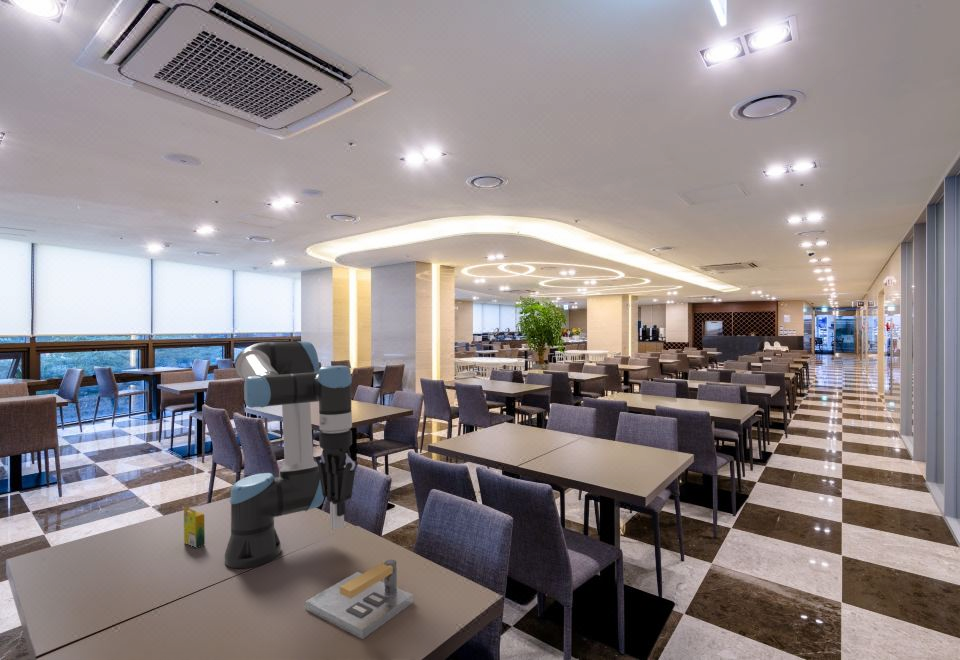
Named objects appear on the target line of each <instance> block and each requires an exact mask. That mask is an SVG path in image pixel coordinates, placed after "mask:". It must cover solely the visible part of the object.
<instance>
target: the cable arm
mask: <svg viewBox="0 0 960 660" xmlns="http://www.w3.org/2000/svg"><path fill="white" fill-rule="evenodd" d="M395 570H397V560H396V559H388V560H386V561H384V562H380V563H379V564H377V565H376V566H374V567H371V568H370V569H368V570H366V571H364V572H363V573H362V574H361V575H359V576H358V577H356V578H354V579H353V580H351V581H349V582H347V583H346V584H344V585H342V586H340V594H342V595H344V596H346V597H348V598H350V599H351V598H353V597H354V596H356V595H358V594H359V593H361V592H362V591H364V590H366V589H367V588H369V587H371V586H372V585H374V584H375V583H377V582H379V581H381V580H383V579H384V578H385V577H387V576H388V575H390V574H392V573H393V571H395Z"/></svg>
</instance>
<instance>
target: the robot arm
mask: <svg viewBox="0 0 960 660" xmlns="http://www.w3.org/2000/svg"><path fill="white" fill-rule="evenodd" d="M319 363H320V362H319V356H318V353H317V349H316V347H315V346H314V344H313V343H312V342H310V341H299V340H297V341H296V340H295V341H294V340H293V341H291V340H290V341H270V342H269V341H265V342H258V343H254V344H252V345H249V346H248V347H245V348H243V350H241V351H240V352H239V353H238V354H237V356H236V358H235V360H234V370H235V372H236V373H237V375H238V376H239V377H240V379H242V380H244V384H243V394H244V395H243V396H244V403H245V405H246V407H248V408H266V407H275V406H281V409H282V410H281V411H282V414H281V415H282V430H283V431H282V436H283V437H282V438H283V455H284V456H283V457H284V459H283V460H284V464H283V466H282V467H281V468H280V469H279V476H276V477H275V475H273V473H271V472H264V473H262V472H260V473H255V474H253V475H249V476H246V477H243V478H241V479H239V480H238V481H237V482H235V483H234V484H233V485H232V486H231V488H230V499H229V504H230V537H229V540H228V541H227V542H228V543H227V546H226V549H225V552H224V565H226V566H227V567H228V568H232V569H248V568H254V567H257V566H261V565H264V564H266V563H269V562H270V561H273V560H274V559H276V558H277V557H278V556H279V555H280V553H281V551H282V550H281V549H282V548H281V547H282V545H281V544H282V543H281V541H280V538H279V536H278V532H277V530H276V527H275V518H278V517H281V516H282V517H283V516H285V515H291V514H294V513H295V514H297V513H301V512H304V511H305V512H308V511H310V510H313V509H316V508H319V507H320V506H321V505H322V503H323V502H324V499H325V498H326V499H327V501H328V509H329V510H328V512H329V526H330V530H331V531H337V530H340V529H343V528H344V527H345V514H346V504H345V503H346V501H349V500H350V499H352V495H353V487H354V480H355V474H356V469H357V467H358V465H359V462H358V460H353V459H352V458H351V453H350V447H351V446H352V444H353V431H352V430H351V428H352V427H353V415H352V414H353V412H352V382H353V381H352V380H353V379H352V372H351V368H350V367H349V366H348V365H326V366H321V367H320V364H319ZM316 402H318V412H319V415H318V416H319V418H318V419H319V427H318V429H319V430H320V432H319V433H318V434H319V442H318V443H319V447H320V449H321V450H322V453H321V454H320V455H318V456H317V455H316V457H315V460H314V450H313V449H314V447H313V429H312V427H313V426H312V411H311V410H312V409H311V403H316Z"/></svg>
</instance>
